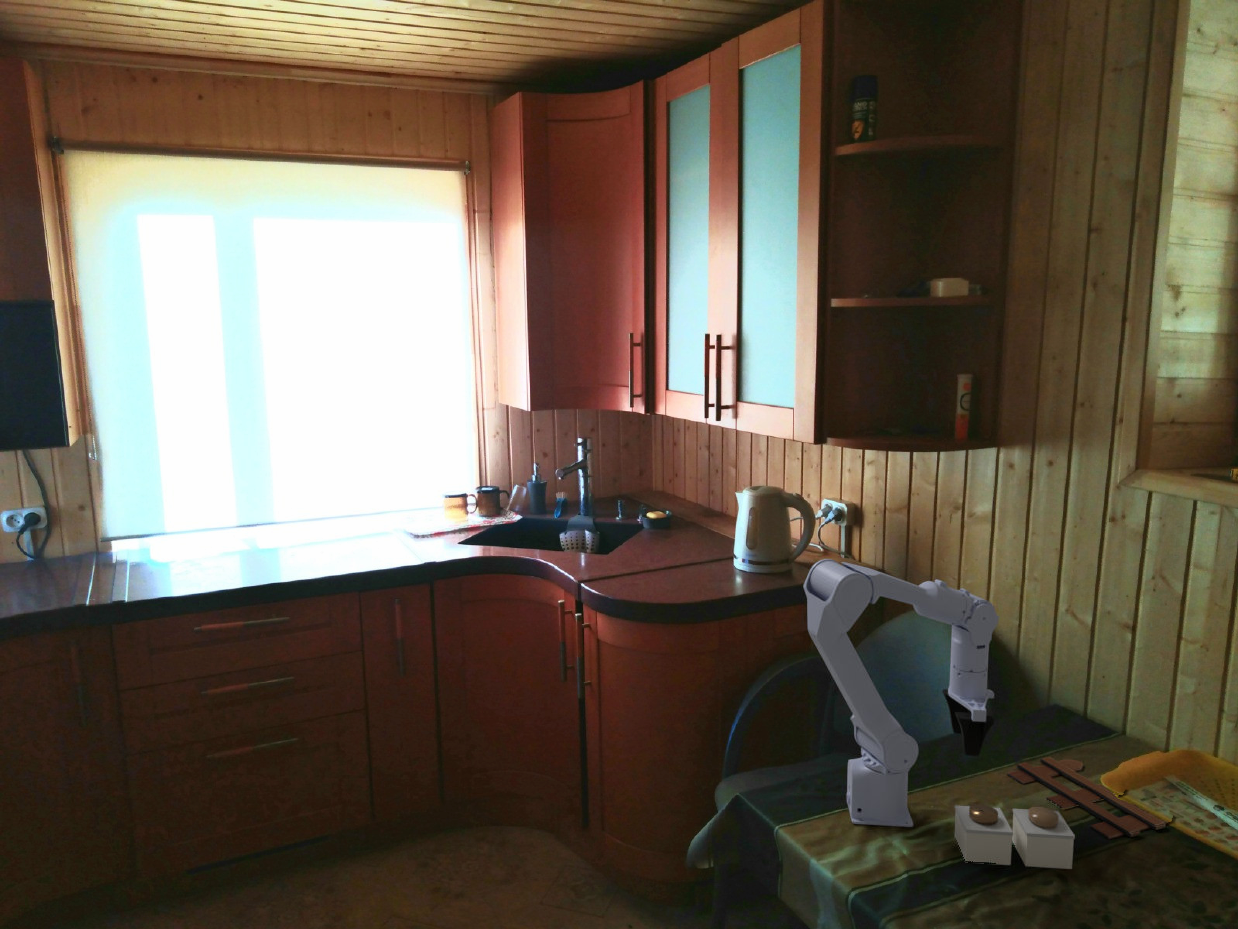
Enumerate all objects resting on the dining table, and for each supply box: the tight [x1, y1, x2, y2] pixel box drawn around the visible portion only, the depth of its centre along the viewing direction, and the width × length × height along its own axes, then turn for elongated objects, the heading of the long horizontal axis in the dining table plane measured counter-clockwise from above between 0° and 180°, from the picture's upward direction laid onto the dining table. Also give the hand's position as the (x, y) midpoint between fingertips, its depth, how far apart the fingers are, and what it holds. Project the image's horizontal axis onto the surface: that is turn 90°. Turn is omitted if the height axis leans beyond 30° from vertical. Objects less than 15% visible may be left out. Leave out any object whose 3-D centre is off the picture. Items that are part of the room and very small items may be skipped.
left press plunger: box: [969, 803, 998, 825], centre depth 128 cm, size 4×4×6 cm
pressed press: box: [1012, 806, 1076, 870], centre depth 128 cm, size 7×8×7 cm
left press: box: [954, 805, 1013, 866], centre depth 129 cm, size 7×8×5 cm
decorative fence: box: [1006, 756, 1168, 840], centre depth 143 cm, size 23×2×15 cm
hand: (965, 743), depth 142 cm, fingers open, 7 cm apart
